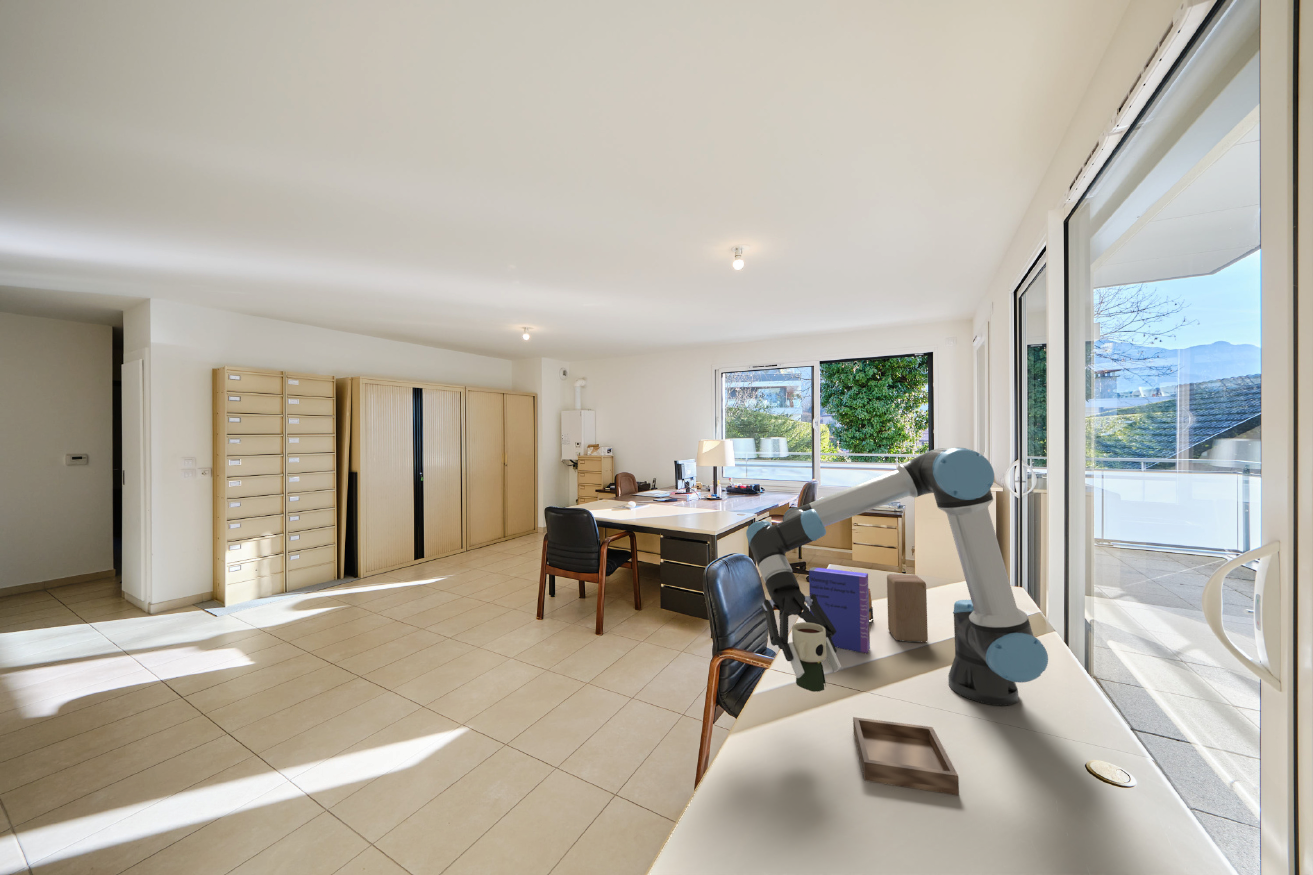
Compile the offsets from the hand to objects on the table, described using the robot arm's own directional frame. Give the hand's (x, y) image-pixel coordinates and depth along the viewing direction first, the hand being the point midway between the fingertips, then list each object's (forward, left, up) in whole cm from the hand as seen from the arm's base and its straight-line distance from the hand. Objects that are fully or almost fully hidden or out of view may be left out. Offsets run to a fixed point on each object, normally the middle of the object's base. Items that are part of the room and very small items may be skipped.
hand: (819, 672), depth 102 cm
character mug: (+2, -3, -5) cm, 6 cm away
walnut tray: (-15, 0, -16) cm, 22 cm away
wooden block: (-32, -71, -16) cm, 80 cm away
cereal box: (-10, -58, -16) cm, 61 cm away
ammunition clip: (-20, -81, -16) cm, 85 cm away
